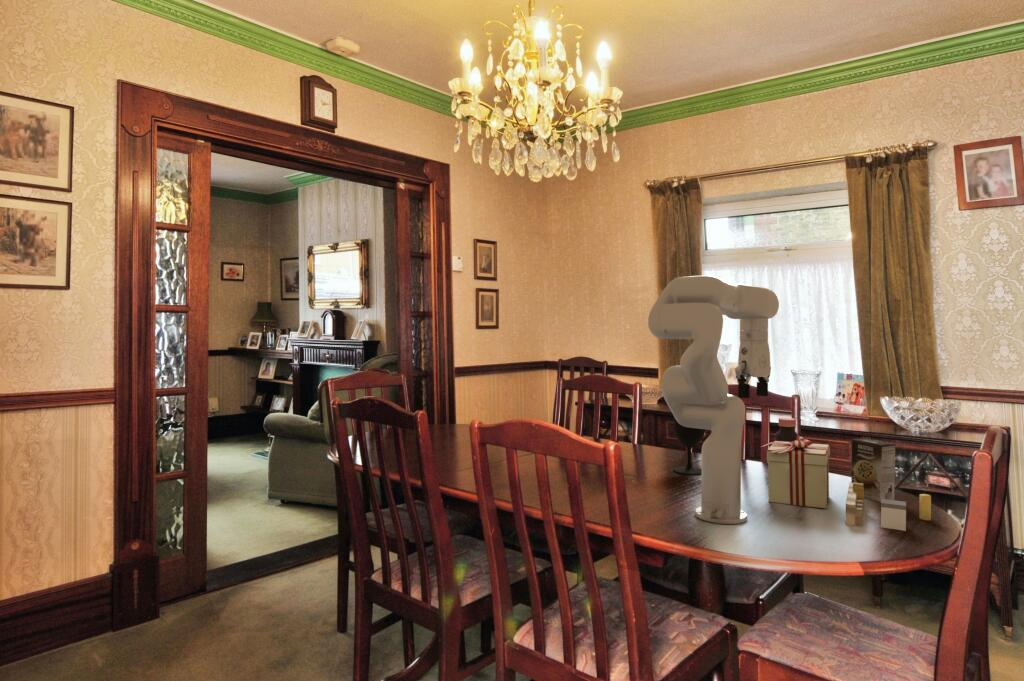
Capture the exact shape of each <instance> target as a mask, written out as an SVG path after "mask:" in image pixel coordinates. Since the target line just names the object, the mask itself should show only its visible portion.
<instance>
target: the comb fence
mask: <svg viewBox="0 0 1024 681" xmlns="http://www.w3.org/2000/svg"><path fill="white" fill-rule="evenodd" d="M864 505H865V498H864V488H863V483H854V482H853V483H851V482H849V483H848V490H847V495H846V501H845V520H844V521H845V522H844V523H845V525H847V526H848V525H849V526H858V527H862V526H863V516H864V513H863V512H864Z"/></svg>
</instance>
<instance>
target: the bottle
mask: <svg viewBox="0 0 1024 681" xmlns="http://www.w3.org/2000/svg"><path fill="white" fill-rule="evenodd" d="M796 426H797V420H796V418H793V417H779V418H778V428H779V430H778V431H776V433H775V434H774V441H783V442H792V441H796V439H797V436H800V435H799V434H798V432H796V430H795V429H796Z"/></svg>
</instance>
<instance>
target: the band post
mask: <svg viewBox="0 0 1024 681" xmlns="http://www.w3.org/2000/svg"><path fill="white" fill-rule="evenodd" d="M918 505H919V508H918V509H919V514H918V516H919V517H918V519H920V520H924V521H931V520H932V496H931V495H930V494H927V493H919V504H918Z"/></svg>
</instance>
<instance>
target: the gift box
mask: <svg viewBox="0 0 1024 681" xmlns="http://www.w3.org/2000/svg"><path fill="white" fill-rule="evenodd" d="M812 442H813V441H812V440H808V439H807V438H804V437H803V436H800V435H799V436H797V439H796V441H792V442H783V441H775V440H774V441H771V442H768V443H766V444H763V445H762V446H760V448H761V449H763V448H766V447H768V446H769V447H768V448H767V449H766V462H767V465H768V467H767V469H768V471H767V472H768V473H767V474H768V475H767V476H768V503H772V504H773V503H775V504H783V505H791V506H798V507H809V508H816V509H823V510H824V509H827V507H828V504H829V502H830V498H829V497H830V481H829V480H830V479H829V478H830V475H829V474H830V473H829V472H830V468H829V465H830V464H829V463H830V462H829V459H830V455H831V449H830V448H831V446H830V444H823V443H812Z"/></svg>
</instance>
